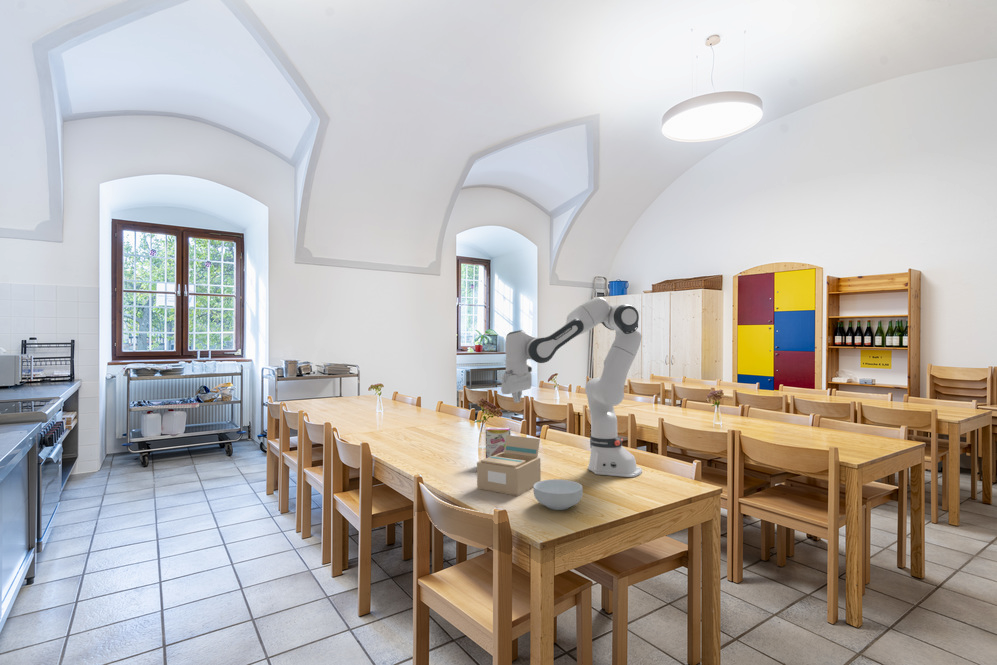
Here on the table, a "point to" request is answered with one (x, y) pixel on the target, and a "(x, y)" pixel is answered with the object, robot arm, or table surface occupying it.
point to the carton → (509, 475)
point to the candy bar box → (496, 440)
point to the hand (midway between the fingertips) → (517, 402)
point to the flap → (503, 461)
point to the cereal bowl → (558, 493)
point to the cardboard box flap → (522, 446)
